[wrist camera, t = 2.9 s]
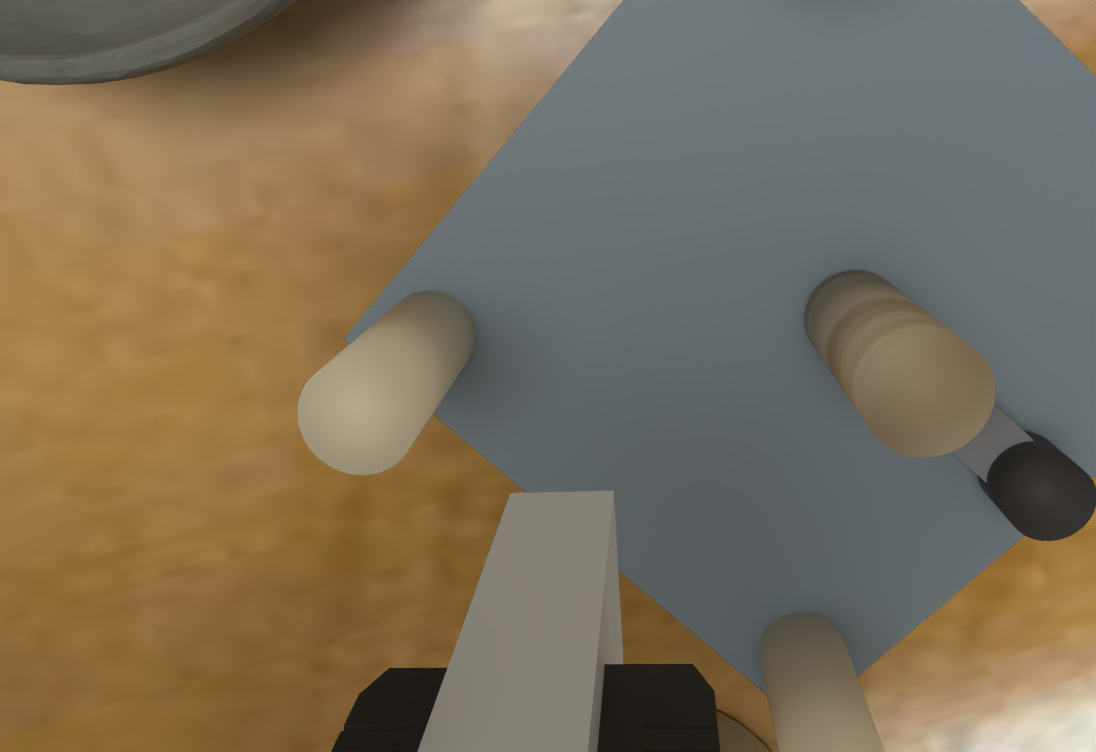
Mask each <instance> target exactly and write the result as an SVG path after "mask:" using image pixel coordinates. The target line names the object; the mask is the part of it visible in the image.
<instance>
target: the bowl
mask: <svg viewBox="0 0 1096 752" xmlns="http://www.w3.org/2000/svg"><path fill="white" fill-rule="evenodd" d="M297 1H298V0H0V80H3V81H9V82H15V83H21V84H47V85H67V84H95V83H104V82H111V81H117V80H123V79H130V78H136V77H140V76H144V75H147V74H151V73H155V72H159V71H163V70H167V69H170V68H172V67H175V66H178V65H180V64H183V63H186V62H189V61H191V60H194V59H197V58H199V57H202V56H205V55H207V54H210V53H212V52H214V51H216V50H218V49H220V48H222V47H224V46H226V45H228V44H230V43H232V42H234V41H236V40H238V39H240V38H242V37H243V36H245V35H247V34H248V33H250V32H252V31H253V30H255V29H257V28H258V27H260V26H261V25H263V24H265V23H266V22H268V21H269V20H271V19H272V18H274V17H275V16H277V15H278V14H280V13H281V12H283V11H284V10H286V9H287V8H289V7H290V6H292V5H293V4H295V3H296V2H297Z"/></svg>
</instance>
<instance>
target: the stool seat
mask: <svg viewBox="0 0 1096 752" xmlns="http://www.w3.org/2000/svg"><path fill="white" fill-rule="evenodd" d="M852 270H861V271H868V272H871V273H874V274H876V275H879V276H880V277H882V278H884V279H885V280H886V281H888V282H889V283H890V284H892V285H893V286H894V287H896V288H897V289H898V290H900V291H901V292H902V293H903V294H905V295H906V296H907V297H909V298H910V299H911V300H913V301H914V302H915V303H917V304H918V305H919V306H921V307H922V308H923V309H924V310H926V311H927V312H928V313H930V314H931V315H932V316H934V317H935V318H936V319H938V320H939V321H940V322H942V323H943V324H944V325H945V326H947V327H948V328H949V329H951V330H952V331H953V332H955V333H956V334H957V335H959V336H960V337H961V338H963V339H964V340H965V341H966V342H968V343H969V344H970V345H972V346H973V347H974V348H975V349H977V350H978V351H979V352H980V353H981V354H982V355H983V356H984V358H985V359H986V361H987V362H988V364H989V366H990V368H991V370H992V373H993V376H994V380H995V390H996V395H995V402H994V404H995V405H996V406H997V407H998V408H999V409H1000V410H1001V411H1003V412H1004V413H1005V414H1006V415H1007V416H1008V417H1009V418H1010V419H1011V420H1012V421H1013V422H1014V423H1016V424H1017V425H1018V426H1019V427H1020V428H1021V429H1022V430H1023V431H1024V432H1030V433H1035V434H1038V435H1040V436H1043V437H1044V438H1046V439H1048V440H1049V441H1050V442H1051V443H1052V444H1054V445H1055V446H1056V447H1057V448H1058V449H1059V450H1061V451H1062V452H1063V453H1064V454H1065V455H1067V456H1068V457H1069V458H1070V459H1071V460H1072V461H1074V462H1075V463H1076V464H1077V465H1078V466H1079V467H1081V468H1082V469H1083V470H1084V471H1085V472H1086V473H1087V474H1088V475H1089V476H1090V477H1091V479H1092V478H1093V477H1094V476H1096V76H1095V75H1094V74H1093V73H1092V72H1091V71H1090V70H1089V69H1088V68H1087V67H1086V66H1085V65H1084V64H1083V63H1082V62H1081V61H1080V60H1079V59H1078V58H1077V57H1076V56H1075V55H1074V54H1073V53H1072V52H1071V51H1070V50H1069V49H1068V48H1067V47H1066V46H1065V45H1063V44H1062V43H1061V42H1060V41H1059V40H1058V39H1057V38H1056V37H1055V36H1054V35H1053V34H1052V33H1051V32H1050V31H1049V30H1048V29H1047V28H1046V27H1045V26H1044V25H1043V24H1042V23H1041V22H1040V21H1039V20H1038V19H1037V18H1036V17H1035V16H1034V15H1033V14H1032V13H1031V12H1030V11H1029V10H1028V9H1027V8H1026V7H1025V6H1024V5H1023V4H1022V3H1021V2H1020V1H1019V0H623V1H622V3H621V4H620V5H619V6H618V7H617V9H616V10H615V11H614V12H613V13H612V15H611V16H610V17H609V18H608V19H607V21H606V22H605V23H604V24H603V26H602V27H601V28H600V29H599V30H598V32H597V33H596V34H595V35H594V36H593V38H592V39H591V40H590V41H589V42H588V44H587V45H586V46H585V47H584V49H583V50H582V51H581V52H580V53H579V55H578V56H577V57H576V58H575V59H574V61H573V62H572V63H571V64H570V65H569V67H568V68H567V69H566V70H565V72H564V73H563V74H562V75H561V76H560V78H559V79H558V80H557V81H556V82H555V84H554V85H553V86H552V87H551V88H550V90H549V91H548V92H547V93H546V95H545V96H544V97H543V98H542V99H541V101H540V102H539V103H538V104H537V105H536V107H535V108H534V109H533V110H532V111H531V113H530V114H529V115H528V116H527V118H526V119H525V120H524V121H523V122H522V124H521V125H520V126H519V127H518V128H517V130H516V131H515V132H514V133H513V134H512V136H511V137H510V138H509V139H508V141H507V142H506V143H505V144H504V145H503V147H502V148H501V149H500V150H499V151H498V153H497V154H496V155H495V156H494V157H493V159H492V160H491V161H490V162H489V164H488V165H487V166H486V167H485V168H484V170H483V171H482V172H481V173H480V174H479V176H478V177H477V178H476V179H475V180H474V182H473V183H472V184H471V185H470V187H469V188H468V189H467V190H466V191H465V193H464V194H463V195H462V196H461V197H460V199H459V200H458V201H457V202H456V203H455V205H454V206H453V207H452V208H451V210H450V211H449V212H448V213H447V214H446V216H445V217H444V218H443V219H442V220H441V222H440V223H439V224H438V225H437V226H436V228H435V229H434V230H433V231H432V233H431V234H430V235H429V236H428V237H427V239H426V240H425V241H424V242H423V243H422V245H421V246H420V247H419V248H418V249H417V251H416V252H415V253H414V254H413V256H412V257H411V258H410V259H409V260H408V262H407V263H406V264H405V265H404V266H403V268H402V269H401V270H400V271H399V272H398V274H397V275H396V276H395V277H394V279H393V280H392V281H391V282H390V283H389V285H388V286H387V287H386V288H385V289H384V291H383V292H382V293H381V294H380V295H379V297H378V298H377V299H376V300H375V302H374V303H373V304H372V305H371V306H370V308H369V309H368V310H367V311H366V312H365V314H364V315H363V316H362V317H361V318H360V320H359V321H358V322H357V323H356V325H355V326H354V327H353V328H352V329H351V331H350V332H349V333H348V334H347V335H346V337H345V338H344V340H346V341H347V342H348V343H349V345H348V346H347V347H346V348H345V349H344V350H342V351H341V352H340V353H339V354H338V355H336V356H335V357H334V358H333V359H332V360H330V361H329V362H328V363H327V364H326V365H325V366H323V367H322V368H321V369H320V370H319V371H317V372H316V373H315V374H314V375H313V376H312V377H311V378H310V379H309V380H308V382H307V383H306V385H305V386H304V388H303V390H302V392H301V395H300V398H299V402H298V411H297V415H298V424H299V428H300V431H301V434H302V436H303V438H304V440H305V442H306V444H307V445H308V447H309V448H310V450H311V451H312V452H313V453H314V454H315V455H316V456H317V457H318V458H319V459H320V460H321V461H322V462H324V463H325V464H326V465H328V466H330V467H332V468H333V469H336V470H338V471H340V472H344V473H347V474H352V475H372V474H376V473H380V472H383V471H385V470H387V469H389V468H391V467H393V466H394V465H395V464H397V463H398V462H399V461H400V460H401V459H402V458H403V457H404V456H405V454H406V453H407V452H408V450H409V449H410V447H411V446H412V444H413V443H414V441H415V440H416V438H417V437H418V435H419V434H420V432H421V431H422V429H423V428H424V426H425V425H426V423H427V422H428V420H429V419H430V417H431V416H432V414H434V415H435V416H436V417H437V418H438V419H440V420H441V421H442V422H443V423H444V424H445V425H447V426H448V427H449V428H450V429H451V430H453V431H454V432H455V433H456V434H457V435H459V436H460V437H461V438H462V439H463V440H464V441H466V442H467V443H468V444H469V445H470V446H472V447H473V448H474V449H475V450H476V451H478V452H479V453H480V454H481V455H482V456H484V457H485V458H486V459H487V460H488V461H489V462H491V463H492V464H493V465H494V466H495V467H497V468H498V469H499V470H500V471H501V472H503V473H504V474H505V475H506V476H507V477H509V478H510V479H511V480H512V481H513V482H514V483H516V484H517V485H518V486H519V487H520V488H522V489H523V490H524V491H525V492H526V493H534V492H573V491H612V490H614V502H615V520H616V537H617V555H618V570H619V571H620V572H622V573H623V574H624V575H625V576H626V577H627V578H629V579H630V580H631V581H632V582H633V583H635V584H636V585H637V586H638V587H639V588H641V589H642V590H643V591H644V592H645V593H646V594H648V595H649V596H650V597H651V598H652V599H654V600H655V601H656V602H657V603H658V604H660V605H661V606H662V607H663V608H664V609H666V610H667V611H668V612H669V613H670V614H671V615H673V616H674V617H675V618H676V619H677V620H679V621H680V622H681V623H682V624H683V625H685V626H686V627H687V628H688V629H689V630H691V631H692V632H693V633H694V634H695V635H696V636H698V637H699V638H700V639H701V640H702V641H704V642H705V643H706V644H707V645H708V646H710V647H711V648H712V649H713V650H714V651H715V652H717V653H718V654H719V655H720V656H721V657H723V658H724V659H725V660H726V661H727V662H729V663H730V664H731V665H732V666H733V667H735V668H736V669H737V670H738V671H739V672H740V673H742V674H743V675H744V676H745V677H746V678H748V679H749V680H750V681H751V682H752V683H754V684H755V685H756V686H757V687H758V688H760V689H761V690H762V691H763V692H764V693H765V694H767V697H768V702H769V707H770V712H771V716H772V721H773V726H774V731H775V736H776V741H777V746H778V750H779V752H884V749H883V746H882V743H881V741H880V738H879V735H878V733H877V730H876V727H875V724H874V722H873V719H872V716H871V713H870V711H869V708H868V705H867V703H866V700H865V697H864V694H863V692H862V689H861V686H860V683H859V681H858V678H857V677H858V676H859V675H860V674H861V673H862V672H864V671H865V670H866V669H867V668H868V667H869V666H871V665H872V664H873V663H874V662H875V661H877V660H878V659H879V658H880V657H881V656H882V655H884V654H885V653H886V652H887V651H888V650H890V649H891V648H892V647H893V646H894V645H895V644H897V643H898V642H899V641H900V640H901V639H903V638H904V637H905V636H906V635H907V634H909V633H910V632H911V631H912V630H913V629H914V628H916V627H917V626H918V625H919V624H920V623H922V622H923V621H924V620H925V619H926V618H927V617H929V616H930V615H931V614H932V613H933V612H935V611H936V610H937V609H938V608H939V607H940V606H942V605H943V604H944V603H945V602H946V601H948V600H949V599H950V598H951V597H952V596H954V595H955V594H956V593H957V592H958V591H959V590H961V589H962V588H963V587H964V586H965V585H967V584H968V583H969V582H970V581H971V580H972V579H974V578H975V577H976V576H977V575H978V574H980V573H981V572H982V571H983V570H984V569H986V568H987V567H988V566H989V565H990V564H991V563H993V562H994V561H995V560H996V559H997V558H999V557H1000V556H1001V555H1002V554H1003V553H1004V552H1006V551H1007V550H1008V549H1009V548H1010V547H1012V546H1013V545H1014V544H1015V543H1016V542H1017V541H1019V540H1020V539H1021V538H1022V537H1023V536H1025V535H1023V534H1022V533H1020V532H1019V531H1018V530H1017V529H1016V528H1015V527H1014V526H1013V525H1012V524H1011V522H1010V521H1009V520H1008V519H1007V518H1006V517H1005V515H1004V514H1003V513H1002V512H1001V511H1000V510H999V509H998V507H997V506H996V505H995V504H994V503H993V502H992V500H991V499H990V498H989V497H988V496H987V495H986V493H985V492H984V491H983V489H982V487H981V485H980V483H979V480H978V475H977V474H976V473H975V472H974V471H973V470H972V469H971V468H969V467H968V466H967V465H966V464H965V463H964V462H963V461H962V460H961V459H959V458H958V457H957V456H956V455H955V454H954V453H953V452H950V453H947V454H944V455H940V456H935V457H926V458H925V457H912V456H907V455H903V454H900V453H898V452H895V451H893V450H891V449H889V448H888V447H886V446H885V445H883V444H882V443H881V442H880V441H879V440H878V439H877V438H876V437H875V436H874V435H873V434H872V432H871V431H870V429H869V428H868V427H867V425H866V424H865V422H864V421H863V419H862V418H861V416H860V415H859V413H858V412H857V410H856V409H855V407H854V406H853V404H852V403H851V401H850V400H849V398H848V397H847V395H846V394H845V392H844V391H843V390H842V388H841V387H840V385H839V384H838V382H837V381H836V379H835V378H834V376H833V375H832V373H831V372H830V370H829V369H828V367H827V366H826V364H825V363H824V361H823V360H822V358H821V357H820V355H819V354H818V353H817V351H816V350H815V348H814V347H813V345H812V344H811V342H810V340H809V338H808V336H807V333H806V330H805V323H804V316H805V310H806V306H807V303H808V301H809V299H810V297H811V295H812V294H813V292H814V291H815V290H816V289H817V287H818V286H819V285H820V284H822V283H823V282H824V281H825V280H827V279H828V278H830V277H832V276H834V275H836V274H838V273H841V272H845V271H852Z"/></svg>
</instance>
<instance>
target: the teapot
mask: <svg viewBox="0 0 1096 752" xmlns="http://www.w3.org/2000/svg"><path fill="white" fill-rule="evenodd" d="M716 713H717V723H718V733H719V743H720V752H770V751H769V750H768V749H767V748H766V746H765V745H764V744H763V743H762V742H761V741H760V740H759V739H758V738H757V737H756V736H755V735H754V734H753V733H751V732H750V731H749V730H748V729H747V728H746V727H744V726H742V725H741V724H739V723H738V722H736V721H734V720H733V719H731V718H730V717H728V716H726V715H725V714H723V713H722V712H719V711H717V710H716Z"/></svg>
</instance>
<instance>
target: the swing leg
mask: <svg viewBox="0 0 1096 752" xmlns="http://www.w3.org/2000/svg"><path fill="white" fill-rule="evenodd" d="M804 323H805V330H806V333H807V336H808V338H809V340H810V342H811V344H812V345H813V347H814V348H815V350H816V351H817V353H818V354H819V355H820V357H821V358H822V360H823V361H824V363H825V364H826V366H827V367H828V369H829V370H830V372H831V373H832V375H833V376H834V378H835V379H836V381H837V382H838V384H839V385H840V387H841V388H842V390H843V391H844V392H845V394H846V395H847V397H848V398H849V400H850V401H851V403H852V404H853V406H854V407H855V409H856V410H857V412H858V413H859V415H860V416H861V418H862V419H863V421H864V422H865V424H866V425H867V427H868V428H869V429H870V431H871V432H872V434H873V435H874V436H875V437H876V438H877V439H878V440H879V441H880V442H881V443H882V444H883V445H885V446H886V447H888V448H889V449H891V450H893V451H895V452H898V453H900V454H903V455H907V456H912V457H925V458H926V457H935V456H940V455H944V454H947V453H950V452H953V453H954V454H955V455H956V456H957V457H958V458H959V459H961V460H962V461H963V462H964V463H965V464H966V465H967V466H968V467H969V468H971V469H972V470H973V471H974V472H975V473H976V474H977V475H978V480H979V483H980V485H981V487H982V489H983V491H984V492H985V493H986V495H987V496H988V497H989V498H990V499H991V500H992V502H993V503H994V504H995V505H996V506H997V507H998V509H999V510H1000V511H1001V512H1002V513H1003V514H1004V515H1005V517H1006V518H1007V519H1008V520H1009V521H1010V522H1011V524H1012V525H1013V526H1014V527H1015V528H1016V529H1017V530H1018V531H1019V532H1020V533H1022V534H1023V535H1025V536H1027V537H1030V538H1032V539H1036V540H1041V541H1053V540H1059V539H1062V538H1066V537H1068V536H1070V535H1072V534H1074V533H1076V532H1077V531H1079V530H1080V529H1081V528H1082V527H1083V526H1084V525H1085V524H1086V523H1087V522H1088V521H1089V520H1090V518H1091V516H1092V515H1093V513H1094V510H1095V507H1096V487H1095V484H1094V482H1093V480H1092V479H1091V477H1090V476H1089V475H1088V474H1087V473H1086V472H1085V471H1084V470H1083V469H1082V468H1081V467H1079V466H1078V465H1077V464H1076V463H1075V462H1074V461H1072V460H1071V459H1070V458H1069V457H1068V456H1067V455H1065V454H1064V453H1063V452H1062V451H1061V450H1059V449H1058V448H1057V447H1056V446H1055V445H1054V444H1052V443H1051V442H1050V441H1049V440H1048V439H1046V438H1044V437H1043V436H1040V435H1038V434H1035V433H1030V432H1024V431H1023V430H1022V429H1021V428H1020V427H1019V426H1018V425H1017V424H1016V423H1014V422H1013V421H1012V420H1011V419H1010V418H1009V417H1008V416H1007V415H1006V414H1005V413H1004V412H1003V411H1001V410H1000V409H999V408H998V407H997V406H996V405H995V404H994V402H995V395H996V390H995V380H994V376H993V373H992V370H991V368H990V366H989V364H988V362H987V361H986V359H985V358H984V356H983V355H982V354H981V353H980V352H979V351H978V350H977V349H975V348H974V347H973V346H972V345H970V344H969V343H968V342H966V341H965V340H964V339H963V338H961V337H960V336H959V335H957V334H956V333H955V332H953V331H952V330H951V329H949V328H948V327H947V326H945V325H944V324H943V323H942V322H940V321H939V320H938V319H936V318H935V317H934V316H932V315H931V314H930V313H928V312H927V311H926V310H924V309H923V308H922V307H921V306H919V305H918V304H917V303H915V302H914V301H913V300H911V299H910V298H909V297H907V296H906V295H905V294H903V293H902V292H901V291H900V290H898V289H897V288H896V287H894V286H893V285H892V284H890V283H889V282H888V281H886V280H885V279H884V278H882V277H880V276H879V275H876V274H874V273H871V272H868V271H861V270H852V271H845V272H841V273H838V274H836V275H834V276H832V277H830V278H828V279H827V280H825V281H824V282H823V283H822V284H820V285H819V286H818V287H817V289H816V290H815V291H814V292H813V294H812V295H811V297H810V299H809V301H808V303H807V306H806V310H805V316H804Z"/></svg>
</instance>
